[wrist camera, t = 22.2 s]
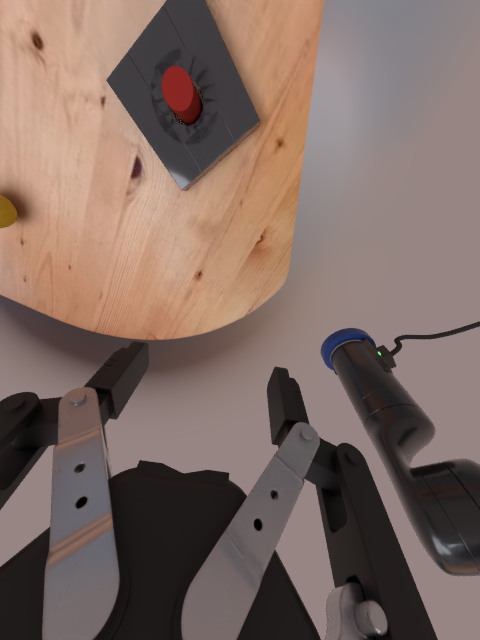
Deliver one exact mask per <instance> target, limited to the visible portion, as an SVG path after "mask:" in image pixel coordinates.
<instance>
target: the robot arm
mask: <svg viewBox="0 0 480 640" xmlns="http://www.w3.org/2000/svg"><path fill="white" fill-rule="evenodd" d="M479 326H480V322H477V323H474V324H471V325H467V326H464V327H461V328H458V329H455V330H451V331H448V332H443V333H439V334H433V335H402V336H399V337H397V338H395V340H394V342H395V343H396V345H397V346H396V348H395V349H393V350H392V351H391V352H389V351H388V350H387V348H386V347H385V346H384V345H382V346H380V347H377V348H374V347H373V346H372V345H371V344H370V342H369V341H368V340H367V339H366V338H365V337H364V338H362V339H356V338H353V339H347V340H344V341H342V342H340V343H338V344H337V345H336V346H334V347H333V349H332V350H331V352H330V355H329V360H330V362H331V364H332V366H333V368H334V369H335V371H334V372H335V374H336V375H338V377H339V379H340V381H341V383H342V385H343V387H344V389H345V391H346V393H347V394H348V396H349V399H350V400H351V402H352V404H353V406H354V408H355V410H356V412H357V414H358V416H359V418H360V420H361V422H362V424H363V426H364V428H365V430H366V432H367V434H368V436H369V437H370V439H371V441H372V443H373V445H374V447H375V448H376V450H377V452H378V454H379V456H380V458H381V460H382V462H383V464H384V466H385V469H386V470H387V473H388V475H389V477H390V479H391V481H392V484H393V486H394V488H395V490H396V492H397V495H398V497H399V499H400V501H401V504H402V506H403V508H404V510H405V513H406V515H407V517H408V519H409V521H410V523H411V525H412V527H413V529H414V531H415V533H416V534H417V536H418V538H419V540H420V542H421V544H422V545H423V547H424V548H425V550H426V552H427V553H428V555H429V556H430V557H431V558H432V560H433V561H434V562H435V563H436V565H437V566H438V567H439V568H440V569H442V570H443V571H444V572H446V573H447V574H449V575H452V576H476V575H477V576H480V465H479V464H478V463H476V462H474V461H472V460H468V459H454V460H449V461H444V462H438V463H434V464H429V465H424V466H420V467H416V468H411V467H410V464H411V462H412V460H413V458H414V456H415V455H416V454H417V453H418V452H419V451H420V450H421V449H423V448H424V447H425V446H426V445H428V444H429V443H430V441H431V440H432V439H433V437H434V435H435V427H434V424H433V423H432V421H431V420H430V418H429V417H428V416H427V415H426V414H425V413H424V411H423V410H422V409H421V408H420V407H419V405H418V404H417V403H416V402H415V401H414V399H413V398H412V397H411V396H410V395H409V393H408V392H407V391H406V390H405V388H404V387H403V386H402V385H401V384H400V382H399V381H398V380H397V379H396V378H395V376H394V375H393V373H392V370H391V368H393V367H396V364H395V362H394V359H393V356H394V355H395V354H396V353H398V352H399V351H400V349H401V348H402V344H401V342H400V340H403V339H435V338H440V337H445V336H449V335H453V334H457V333H460V332H463V331H466V330H470V329H473V328H476V327H479ZM148 364H149V356H148V344H147V343H145V342H139V341H133V342H132V343H131V344H130V346H129V347H128V348H121V349H119V350H118V351H116V352H114V353H113V354H112V356H111V357H110V358H109V359H108V360H107V361H106V362H105V363H104V365H103V366H102V367H101V368H100V369H99V370H98V371H97V372H96V374H95V375H94V376H93V377H92V378H91V379H90V380H89V381H88V383H86V385H85V386H84V387H81V388H77V389H75V390H72V391H70V392H68V393H67V394H66V395H64V396H63V397H58V398H49V399H39V398H38V396H37V395H36V394H35V393H32V392H22V393H17V394H14V395H11V396H9V397H7V398H5V399H3V400H2V401H0V510H1V508H2V507H3V506H4V504H5V503H6V502H7V500H8V499H9V498H10V496H11V495H12V494H13V493H14V491H15V490H16V488H17V487H18V486H19V485H20V483H21V482H22V481H23V479H24V478H25V476H26V475H27V474H28V472H29V471H30V470H31V469H32V467H33V466H34V465H35V463H36V462H37V461H38V459H39V458H40V457H41V455H42V454H43V453H44V451H45V450H46V448H47V447H48V446H51V445H55V446H54V450H53V469H52V496H51V520H50V527H49V528H48V529H47V530H45V531H44V532H43V533H42V534H40V535H39V536H38V537H37V538H36V539H34V540H33V541H32V542H31V543H29V544H28V545H27V546H26V547H24V548H23V549H22V550H21V551H19V552H18V553H17V554H16V555H14V556H13V557H12V558H11V559H10V560H8V561H7V562H6V563H5V564H3V565H2V566H1V567H0V640H321V639H320V636H319V634H318V632H317V629H316V627H315V626H314V623H313V622H312V619H311V617H310V616H309V614H308V612H307V610H306V608H305V606H304V604H303V602H302V600H301V598H300V596H299V594H298V593H297V590H296V589H295V587H294V585H293V583H292V581H291V579H290V577H289V575H288V573H287V571H286V569H285V567H284V565H283V563H282V562H281V560H280V558H279V556H278V554H277V552H276V550H275V548H276V546H277V543H278V541H279V539H280V537H281V534H282V532H283V530H284V528H285V525H286V523H287V521H288V518H289V516H290V514H291V512H292V510H293V507H294V505H295V503H296V501H297V499H298V496H299V494H300V492H301V490H302V487H303V485H304V479H306V480H308V481H310V482H311V483H313V484H315V485H316V489H317V495H318V500H319V505H320V511H321V516H322V521H323V527H324V531H325V537H326V542H327V548H328V553H329V559H330V564H331V569H332V574H333V580H334V585H335V589H333V590H332V591H331V592H330V593H329V596H328V599H327V604H326V613H327V631H326V636H325V640H438V639H437V637H436V634H435V632H434V629H433V627H432V624H431V622H430V619H429V617H428V614H427V612H426V609H425V607H424V604H423V602H422V599H421V597H420V594H419V592H418V590H417V587H416V584H415V582H414V580H413V577H412V574H411V572H410V569H409V567H408V564H407V562H406V559H405V557H404V554H403V552H402V550H401V547H400V544H399V542H398V539H397V537H396V535H395V532H394V530H393V527H392V525H391V522H390V520H389V518H388V515H387V512H386V510H385V507H384V505H383V502H382V500H381V497H380V495H379V492H378V490H377V487H376V485H375V482H374V480H373V477H372V475H371V473H370V470H369V467H368V465H367V463H366V460H365V458H364V457H363V455H362V454H361V452H360V451H359V450H358V449H357V448H355V447H354V446H352V445H350V444H348V443H341V444H339V445H338V446H335V445H333V444H331V443H329V442H327V441H324V440H323V439H321V438H320V437H319V436H318V434H317V432H316V431H315V430H314V428H313V427H311V426H310V424H309V421H308V417H307V413H306V410H305V406H304V402H303V400H302V399H303V398H302V395H301V391H300V387H299V385H298V383H297V382H296V380H295V379H294V378H289V374H288V370H287V369H286V368H280V367H275V368H274V370H273V372H272V375H271V377H270V380H269V382H268V387H267V397H268V408H269V418H270V429H271V439H272V444H273V445H278V448H279V449H278V451H277V452H276V454H275V455H274V456H273V458H272V459H271V461H270V462H269V464H268V465H267V467H266V468H265V470H264V472H263V473H262V475H261V476H260V478H259V479H258V481H257V482H256V484H255V485H254V487H253V489H252V490H251V492H250V493H249V495H248V496H247V495H246V494H245V493H244V492H243V490H242V489H241V488H240V487H238V486H237V485H236V484H234V483H233V482H232V481H230V480H229V473H226V472H219V471H212V470H204V471H197V472H191V473H185V474H184V473H181V472H178V471H177V470H175V469H173V468H171V467H168V466H167V465H164V464H162V463H156V462H149V461H141V460H140V461H139V464H138V466H137V467H136V468H132V469H128V470H125V471H123V472H120V473H119V474H117V475H115V476H113V474H112V469H111V464H110V459H109V452H108V445H107V438H106V432H105V424H106V422H107V421H108V419H117V418H118V417H119V415H120V413H121V412H122V410H123V408H124V407H125V405H126V403H127V402H128V400H129V398H130V397H131V395H132V393H133V392H134V390H135V388H136V387H137V385H138V384H139V382H140V380H141V379H142V377H143V375H144V374H145V372H146V370H147V367H148Z"/></svg>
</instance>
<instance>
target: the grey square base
mask: <svg viewBox="0 0 480 640" xmlns="http://www.w3.org/2000/svg"><path fill="white" fill-rule="evenodd" d="M171 66H179V67H181V68H183V69H184V70H185V71H186V72H187V73H188V74H189V76H190V78H191V80H192V82H193V84H194V86H196V87H197V88H198V89H199V90H200V91H201V93H202V97H203V111H202V113H201V116H200V118H199V120H198V121H197V122H196V123H195V124H192V125H189V126H186V125H183V124H180V123H179V122H178V121H177V119H176V117H175V114H174V111H173V110H172V109H171V107H170V106H169V105H168V104H167V102H166V100H165V98H164V95H163V92H162V79H163V76H164V73H165V72H166V70H167V69H168V68H169V67H171ZM107 82H108V84H109V85H110V87H111V88H112V89H113V91H114V92H115V94H116V95H117V97H118V98H119V100H120V101H121V103H122V104H123V106H124V107H125V108H126V110H127V111H128V113H129V114H130V116H131V117H132V119H133V120H134V122H135V123H136V125H137V126H138V128H139V129H140V130H141V132H142V133H143V135H144V136H145V138H146V139H147V141H148V142H149V144H150V145H151V147H152V148H153V150H154V151H155V152H156V154H157V155H158V157H159V158H160V160H161V161H162V163H163V164H164V166H165V167H166V169H167V170H168V172H169V173H170V174H171V176H172V177H173V179H174V180H175V182H176V183H177V185H178V186H179V188H180V189H181V190H182V191H186V190H187V189H189V188H190V187H191V186H192V185H193V184H194V183H195V182H197V181H198V180H199V179H200V178H201V177H202V176H203V175H204V174H206V173H207V172H208V171H209V170H210V169H211V168H212V167H214V166H215V165H216V164H217V163H218V162H219V161H220V160H222V159H223V158H224V157H225V156H226V155H227V154H228V153H229V152H231V151H232V150H233V149H234V148H235V147H236V146H237V145H239V144H240V143H241V142H242V141H243V140H244V139H245V138H247V137H248V136H249V135H250V134H251V133H252V132H253V131H255V130H256V129H257V128H258V127H259V122H260V120H259V118H258V116H257V113H256V111H255V109H254V107H253V105H252V102H251V100H250V98H249V96H248V94H247V91H246V89H245V87H244V85H243V83H242V80H241V78H240V76H239V74H238V72H237V69H236V67H235V65H234V63H233V61H232V58H231V56H230V54H229V52H228V50H227V47H226V45H225V43H224V41H223V39H222V36H221V34H220V32H219V30H218V28H217V25H216V23H215V21H214V19H213V17H212V14H211V12H210V10H209V8H208V6H207V3H206V1H205V0H167V1H166V2H165V3H164V6H162V7H161V9H160V10H159V11H158V12H157V14H156V15H155V16H154V18H153V19H152V20H151V22H150V23H149V24H148V26H147V27H146V28H145V30H144V31H143V32H142V34H141V35H140V36H139V38H138V39H137V40H136V42H135V43H134V44H133V46H132V47H131V48H130V49H129V51H128V53H126V55H125V56H124V57H123V59H122V60H121V61H120V63H119V64H118V65H117V67H116V68H115V69H114V71H113V72H112V73H111V75H110V76H109V77H108V79H107Z"/></svg>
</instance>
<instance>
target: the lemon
mask: <svg viewBox="0 0 480 640" xmlns="http://www.w3.org/2000/svg"><path fill="white" fill-rule="evenodd" d="M16 219H17V211H16V208H15V207H14V205H13V204H12V203H11V202H10V201H9V200H8V199H7V198H5V197H4V196H2V195H0V228H4V227H8V226H10V225H12V224H13V223H14V222H15V221H16Z"/></svg>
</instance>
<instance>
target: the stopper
mask: <svg viewBox="0 0 480 640" xmlns="http://www.w3.org/2000/svg"><path fill="white" fill-rule="evenodd" d="M162 92H163V95H164V98H165V100H166V102H167V104H168V105H169V106H170V107H171V109H172V110H173V111H174V112H175V113H176V114H177V116H178V117H179V118H180V119H181V120H182V122H183V123H184V124H186V125H187V126H189V125H192V124H195V123H196V122H197V121H198V120H199V118H200V116H201V113H202V111H203V105H202V102H201V99H200V97H199V95H198V93H197V91H196V89H195V87H194V84H193V82H192V80H191V78H190V76H189V74H188V73H187V72H186V71H185V70H184V69H183V68H181V67H179V66H171V67H169V68H168V69H167V70H166V72H165V73H164V76H163V79H162Z"/></svg>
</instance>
